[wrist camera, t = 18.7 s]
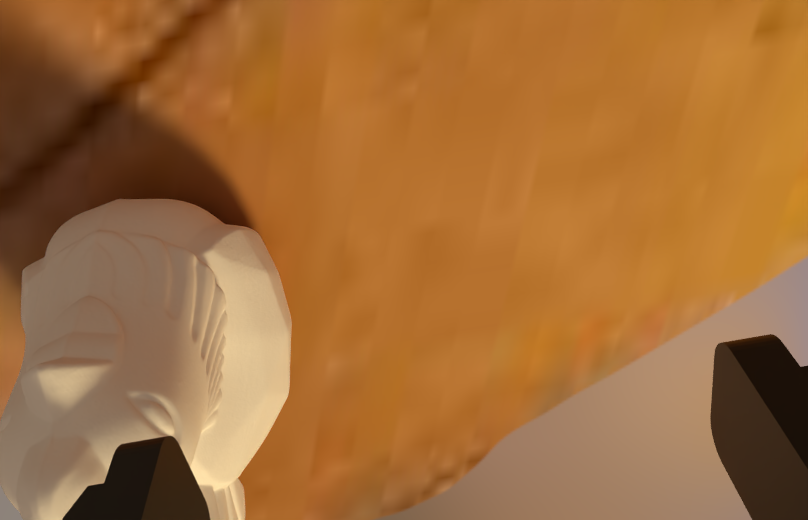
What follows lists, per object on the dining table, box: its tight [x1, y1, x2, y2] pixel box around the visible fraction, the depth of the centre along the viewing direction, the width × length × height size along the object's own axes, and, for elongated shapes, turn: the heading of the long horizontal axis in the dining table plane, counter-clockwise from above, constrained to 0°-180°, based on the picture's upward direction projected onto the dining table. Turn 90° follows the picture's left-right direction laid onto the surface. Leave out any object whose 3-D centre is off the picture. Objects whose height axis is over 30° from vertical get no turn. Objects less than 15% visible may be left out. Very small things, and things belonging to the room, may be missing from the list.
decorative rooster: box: [0, 199, 292, 520], centre depth 44 cm, size 25×16×25 cm, turn 177°
